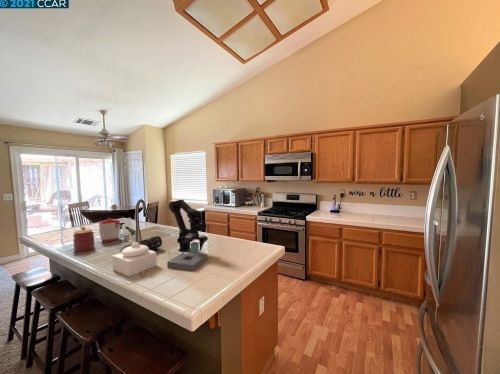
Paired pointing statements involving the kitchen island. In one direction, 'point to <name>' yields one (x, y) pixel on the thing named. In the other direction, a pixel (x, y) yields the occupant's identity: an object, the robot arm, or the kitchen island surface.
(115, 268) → the butter dish
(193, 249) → the block
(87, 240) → the canister
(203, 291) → the kitchen island surface
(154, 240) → the muzzle brake
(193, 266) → the outlet plate
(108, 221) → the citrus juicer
